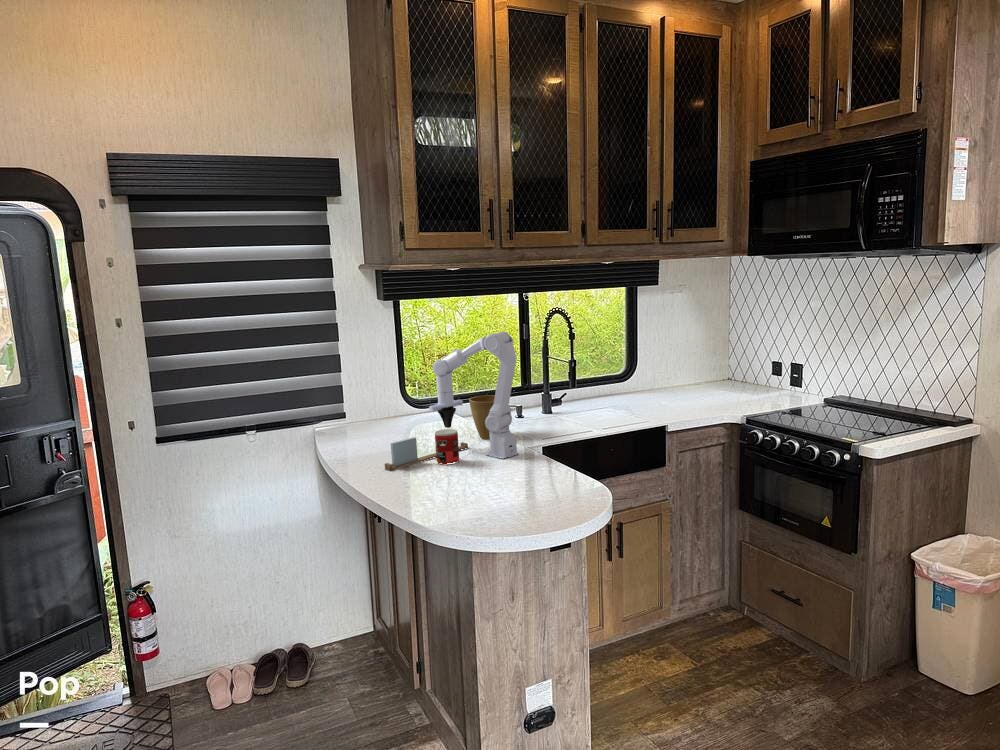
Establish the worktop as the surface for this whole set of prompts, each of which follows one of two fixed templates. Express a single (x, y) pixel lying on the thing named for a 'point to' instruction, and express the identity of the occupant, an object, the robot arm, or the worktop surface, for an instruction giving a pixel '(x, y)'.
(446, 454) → the canned food
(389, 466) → the rail
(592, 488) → the worktop surface
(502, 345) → the robot arm
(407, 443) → the screen panel
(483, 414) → the plant pot
